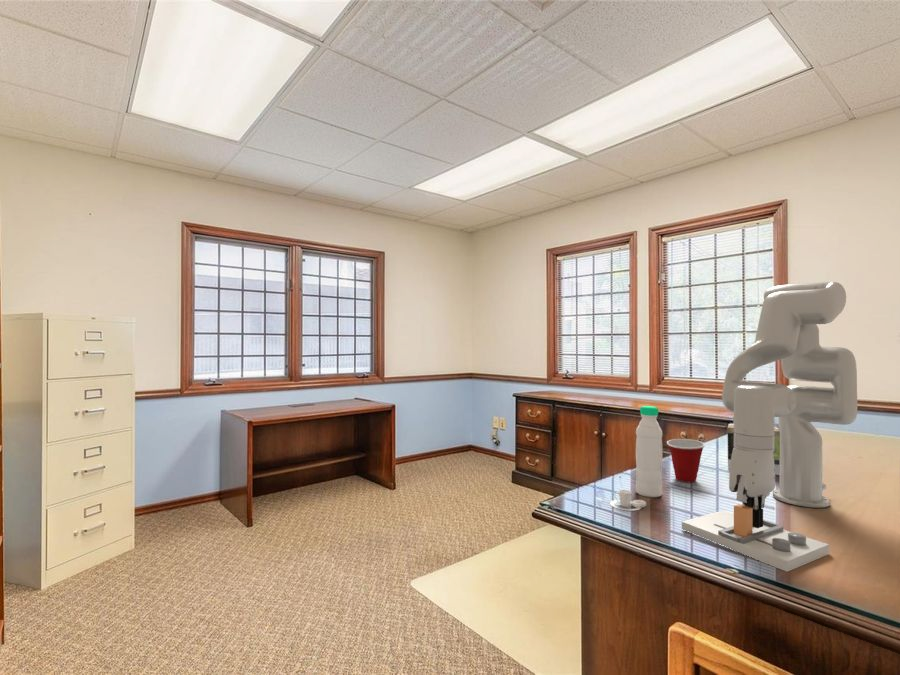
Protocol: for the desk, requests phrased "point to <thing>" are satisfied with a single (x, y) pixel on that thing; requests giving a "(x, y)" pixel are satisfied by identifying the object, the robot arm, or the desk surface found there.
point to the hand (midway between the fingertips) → (753, 525)
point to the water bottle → (649, 454)
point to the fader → (743, 520)
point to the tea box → (775, 452)
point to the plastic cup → (685, 458)
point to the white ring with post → (627, 501)
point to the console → (759, 541)
